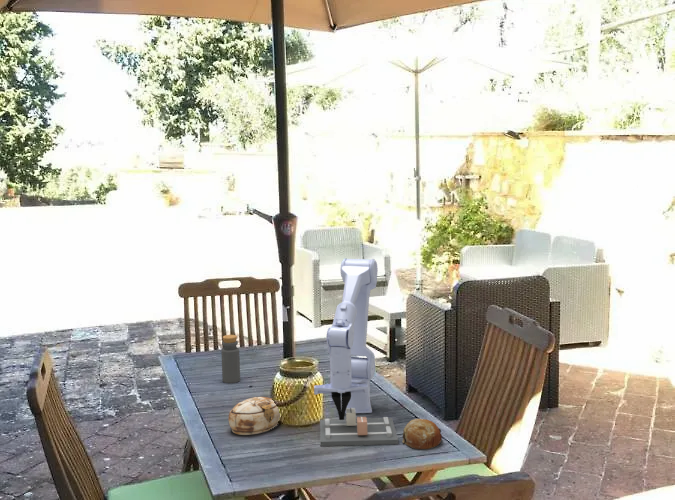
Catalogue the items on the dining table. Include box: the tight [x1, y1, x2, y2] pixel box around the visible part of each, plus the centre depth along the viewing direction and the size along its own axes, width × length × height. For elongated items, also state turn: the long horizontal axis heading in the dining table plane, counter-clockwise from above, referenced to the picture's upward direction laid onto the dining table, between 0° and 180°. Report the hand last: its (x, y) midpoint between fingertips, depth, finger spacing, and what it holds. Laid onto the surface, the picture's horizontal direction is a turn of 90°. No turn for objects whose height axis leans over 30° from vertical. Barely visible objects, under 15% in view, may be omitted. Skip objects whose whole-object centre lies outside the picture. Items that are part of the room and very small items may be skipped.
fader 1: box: [345, 408, 357, 426], centre depth 208 cm, size 4×2×4 cm, turn 2°
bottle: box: [220, 334, 241, 384], centre depth 253 cm, size 6×6×15 cm
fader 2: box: [356, 416, 367, 435], centre depth 201 cm, size 4×2×4 cm, turn 2°
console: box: [319, 416, 399, 447], centre depth 205 cm, size 16×20×2 cm
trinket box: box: [227, 396, 281, 436], centre depth 212 cm, size 13×15×8 cm
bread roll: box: [401, 418, 443, 450], centre depth 199 cm, size 10×10×8 cm
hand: (341, 418), depth 208 cm, fingers closed
